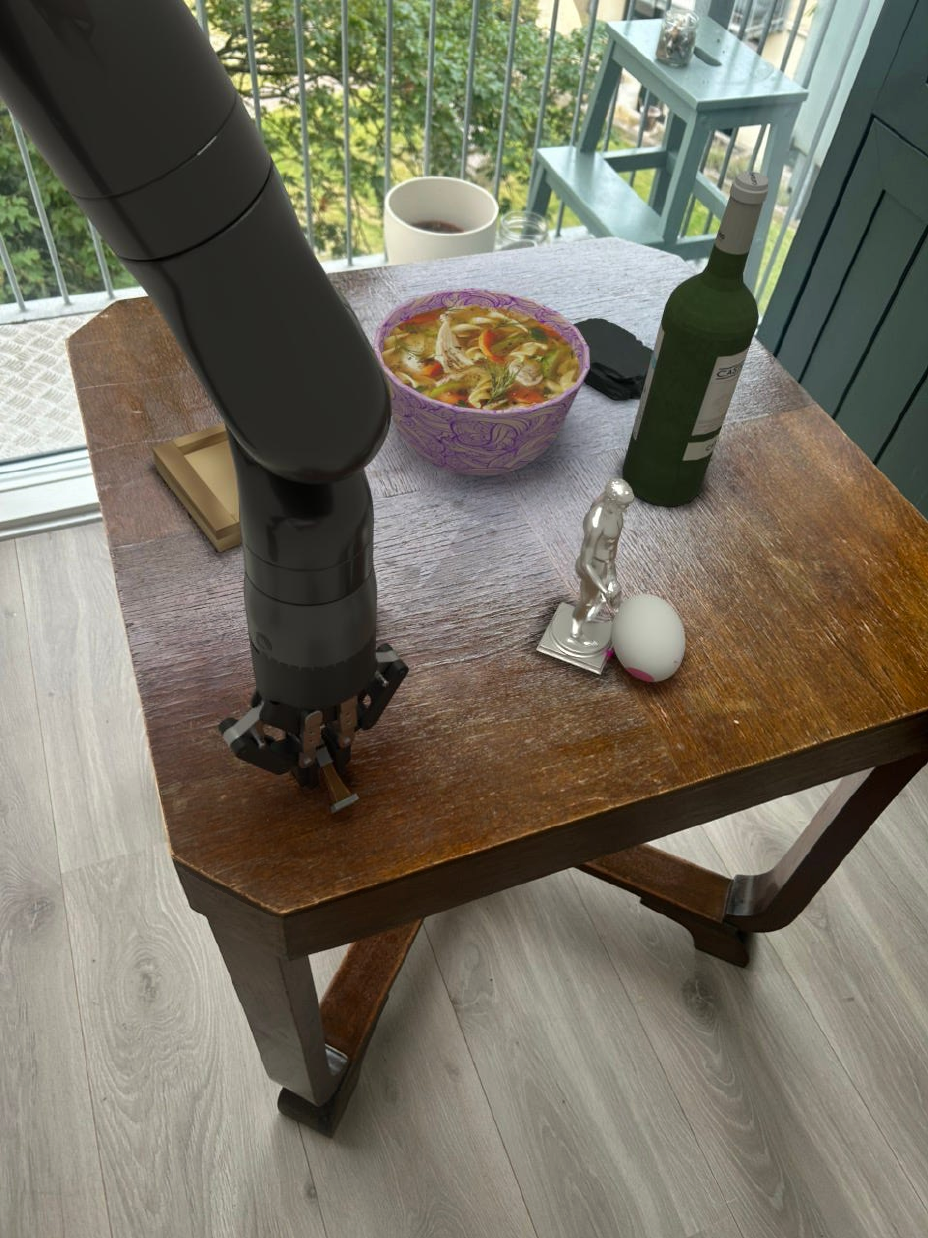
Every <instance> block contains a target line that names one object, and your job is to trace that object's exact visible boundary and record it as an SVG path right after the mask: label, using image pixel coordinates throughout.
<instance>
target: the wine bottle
mask: <svg viewBox="0 0 928 1238" xmlns="http://www.w3.org/2000/svg"><path fill="white" fill-rule="evenodd" d="M769 181H770V180H769V178H768V177H767V176H766V175H765V174H762V173H759V172H758V171H757V172H756V171H751V170H743V171H740V172H738V173H737V174H736V177H735V178H733V180H732V182H731V186H730V188H729V197H728V200H727V203H726V206H725V210H724V212H723V216H722V218H721V222H720V224H719V228H718V230H717V233H716V236H715V239H714V243H713V246H712V249H711V251H710V254H709V259H708V261H707V264H706V265H705V267H704V269H703V270H702V271H701V272H699V273H697V274H694V275H692V276H690V277H689V278H686V279H685V280H684V281H683V282H681V283H679V284H678V285H677V286H676V287H675V288H674V289H673V290H672V291H671V292H670V294H669V297H668V298H667V301H666V303H665V304H664V309H663V312H662V316H661V320H660V323H659V326H658V331H657V334H656V335H657V336H656V339H655V342H654V347H653V349H652V350H653V354H652V358H651V362H650V365H649V369H648V373H647V377H646V381H645V385H644V388H643V392H642V393H641V396H640V400H639V404H638V408H637V411H636V415H635V419H634V423H633V427H632V431H631V434H630V439H629V442H628V446H627V450H626V453H625V458H624V461H623V465H622V468H621V471H622V472H621V473H622V479H623V480H625V481H626V482H627V483H628V484H629V486H630V487H631V489H632V491H633V494H634V496H635V497H638V498H639V499H641V500H642V501H645V502H647V503H650V504H653V505H656V506H665V507H672V506H681V505H683V504H686V503H689V502H691V501H692V500H693V499H694V498H695V497H696V496H697V495H698V494H699V493H700V491H701V488H702V485H703V483H704V479H705V477H706V474H707V471H708V467H709V465H710V462H711V460H712V457H713V454H714V451H715V449H716V445H717V442H718V439H719V437H720V433H721V431H722V428H723V425H724V422H725V420H726V416H727V414H728V411H729V408H730V404H731V403H732V399H733V396H734V394H735V391H736V388H737V385H738V382H739V379H740V375H741V373H742V370H743V367H744V364H745V362H746V358H747V356H748V354H749V350H750V348H751V344H752V343H753V338H754V336H755V333H756V330H757V328H758V324H759V319H760V313H759V309H758V304H757V300H756V298H755V296H754V294H753V292H752V291H751V290H750V289H749V287H748V286H747V285H746V283H745V281H744V272H745V268H746V265H747V261H748V258H749V254H750V251H751V247H752V245H753V244H752V243H753V240H754V236H755V234H756V229H757V225H758V223H759V218H760V215H761V211H762V208H763V205H764V202H765V201H766V199H767V196H768V193H769V190H770V187H769Z"/></svg>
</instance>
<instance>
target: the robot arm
mask: <svg viewBox="0 0 928 1238" xmlns="http://www.w3.org/2000/svg"><path fill="white" fill-rule="evenodd" d="M0 99H1V101H2V102H3V104H4V105H5V107H6V108H7V109H8V111H9V112H10V114H11V115H12V116H13V118H14V119H15V120H16V122H17V123H18V125H19V126H20V128H21V129H22V131H23V132H24V133H25V135H26V136H27V137H28V139H29V141H31V143H32V144H33V146H34V148H36V150H37V151H38V153H39V154H40V155H41V157H42V158H43V159H44V161H45V162H46V164H47V165H48V166H49V168H50V170H51V171H52V172H53V173H54V174H55V176H56V177H57V179H58V180H59V182H60V183H61V184H62V185H63V188H65V190H66V191H67V192H68V194H69V195H70V196H71V198H72V199H73V201H74V202H75V204H76V205H77V206H78V207H79V209H80V210H81V211H82V213H83V214H84V215H85V217H86V218H87V219H88V221H89V222H90V223H91V225H92V226H93V227H94V229H95V230H96V231H97V233H98V234H99V236H100V237H101V238H102V240H103V241H104V242H105V244H106V245H107V247H108V248H109V249H110V250H111V251H112V253H113V254H114V255H115V256H116V258H117V259H118V261H119V262H120V263H121V264H122V265H123V267H124V268H125V270H126V271H128V273H129V274H130V276H132V277H133V278H134V280H135V281H136V282H137V283H138V284H139V286H140V287H141V288H142V289H143V290H144V292H145V293H146V295H147V296H148V297H149V299H150V300H151V302H152V303H153V305H154V306H155V308H156V309H157V310H158V313H159V314H160V315H161V317H162V318H163V320H164V322H165V323H166V326H167V327H168V329H169V330H170V332H171V334H172V336H173V338H174V340H175V341H176V343H177V345H178V347H179V349H180V351H181V353H182V354H183V356H184V358H185V359H186V361H187V363H188V364H189V366H190V368H191V369H192V372H193V373H194V375H195V376H196V378H197V379H198V381H199V383H200V385H201V386H202V388H203V390H204V391H205V393H206V395H207V396H208V399H209V400H210V402H211V403H212V405H213V406H214V408H215V410H216V412H217V413H218V415H219V417H220V418H221V419H222V422H223V423H224V424H225V429H226V433H227V438H228V442H229V446H230V451H231V455H232V459H233V463H234V467H235V472H236V479H237V488H238V499H239V524H240V532H241V540H242V544H241V546H242V548H241V549H242V554H243V555H242V556H243V565H244V567H243V568H244V573H243V588H242V589H243V590H242V591H243V602H244V609H245V616H246V624H247V625H246V626H247V632H248V640H249V647H250V655H251V665H252V671H253V676H254V680H255V688H254V691H253V693H252V695H251V697H250V706H251V709H250V710H249V711H248V712H247V713H245V714H244V715H243V716H242V717H241V718H240V719H237V718H235V717H227V718H225V719H223V720H222V721H221V722H220V723H218V727H217V731H218V732H219V733H220V735H221V736H222V738H223V740H224V741H225V743H226V744H227V746H228V747H229V749H230V750H231V752H232V753H233V755H234V756H235V757H236V759H238V760H241V761H243V762H246V763H247V764H250V765H252V766H254V767H257V768H259V769H262V770H264V771H267V772H268V773H271V774H273V775H276V776H284V775H285V774H287V773H288V772H289V773H290V775H291V777H292V778H293V779H294V780H295V783H297V785H298V787H300V788H301V789H304V788H307V789H308V791H309V792H313V791H315V790H316V789H318V788H320V787H321V785H320V784H321V783H320V781H321V780H320V769H319V762H318V760H317V758H316V747H317V746H319V745H320V739H321V740H323V741H324V744H323V746H324V747H327V751H328V753H329V756H330V758H331V759H332V761H333V762H332V765H333V767H334V769H335V771H336V773H337V774H338V776H339V777H341V776H343V775H344V774H347V773H346V772H347V771H346V770H347V768H346V766H348V765H349V764H350V762H351V760H352V744H353V742H354V741H355V738H356V737H355V734H356V733H357V732H358V731H360V730H362V731H364V732H368V731H370V730H371V729H373V728H374V727H375V726H376V724H377V722H378V721H379V720H380V718H381V716H382V715H383V713H385V710H386V709H387V707H388V705H389V704H390V702H391V700H392V699H393V697H395V694H396V692H397V691H398V689H399V688H400V686H401V685H402V683H403V681H404V679H406V676H407V675H408V674H409V671H410V667H409V666H408V665H407V664H406V663H405V661H404V660H403V659H402V658H401V657H400V655H398V653H397V652H396V651H395V649H394V648H393V647H392V646H391V645H390V643H388V642H384V643H381V644H380V645H379V646H377V624H378V623H377V622H378V619H377V618H378V617H377V616H378V612H377V611H378V581H377V576H376V575H377V574H376V571H375V564H374V563H375V561H374V550H375V549H374V547H375V546H374V545H375V543H374V541H375V511H374V500H373V494H372V489H371V485H370V482H369V480H368V478H367V474H366V471H365V468H366V467H368V465H370V463H371V462H372V461H373V460H374V459H375V458H376V456H377V455H378V453H380V451H381V449H382V447H384V444H385V442H386V439H387V437H388V434H389V431H390V427H391V423H392V419H393V418H392V396H391V390H390V385H389V382H388V379H387V376H386V374H385V371H384V369H383V367H382V365H381V363H380V361H379V359H378V357H377V355H376V354H375V352H374V349H373V345H372V344H371V342H370V339H368V336H367V334H366V332H365V330H364V329H363V327H362V325H361V323H360V320H359V319H358V317H357V315H356V313H355V310H354V309H353V308H352V306H351V304H350V302H349V301H348V299H347V298H346V297H345V295H344V294H343V293H342V292H341V290H340V289H338V288H337V287H336V286H335V284H334V283H333V282H332V281H331V279H330V277H329V276H328V274H327V272H326V271H325V269H324V268H323V266H322V264H321V262H320V261H319V259H318V258H317V256H316V254H315V252H314V251H313V249H312V247H311V244H310V243H309V241H308V239H307V237H306V235H305V233H304V231H303V228H302V226H301V224H300V220H299V218H298V215H297V213H296V210H295V207H294V205H293V203H292V200H291V198H290V197H291V196H290V195H289V193H288V191H287V188H286V185H285V183H284V180H283V178H282V175H281V173H280V172H279V170H278V167H277V165H276V162H275V160H274V159H273V157H272V155H271V153H270V152H269V148H268V147H267V145H266V143H265V141H264V139H263V138H262V136H261V134H260V132H259V130H258V128H257V126H256V124H255V123H254V120H253V118H252V117H251V115H250V113H249V111H248V109H247V107H246V106H245V105H246V104H244V102H243V100H242V98H241V96H240V94H239V92H238V90H237V88H236V86H235V85H234V83H233V81H232V79H231V77H230V75H229V74H228V72H227V70H226V68H225V66H224V64H223V63H222V61H221V59H220V58H219V56H218V54H217V52H216V50H215V48H214V47H213V46H212V44H211V42H210V41H209V38H208V37H207V35H206V33H205V32H204V30H203V28H202V27H201V26H200V24H199V22H198V20H197V19H196V17H195V16H194V14H193V12H192V11H191V9H190V8H189V6H188V4H187V3H186V1H185V0H0ZM367 696H368V697H369V699H370V703H369V704H368V706H367V705H366V704H365V702H364V701H365V699H366V697H367ZM265 725H267V726H269V727H272V728H275V729H277V730H281V732H282V733H281V734H282V738H281V739H279V740H276V739H275V737H273V736H272V735H270V734H267V733H265V731H264V726H265ZM322 726H324V727H322Z"/></svg>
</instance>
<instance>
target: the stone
mask: <svg viewBox="0 0 928 1238" xmlns="http://www.w3.org/2000/svg"><path fill="white" fill-rule="evenodd" d="M572 324H573V325H574V326H575V327H576V328H578V330H579V331H580V333H581V335H582V337H583V338H584V340H585V342H586V343H587V345H588V347H589V358H590V369H589V371H588V373H587V375H586V378H585V380H584V382H583V383H586V384H588V385H589V386H591V387H592V388H593V389H596V390H598V391H599V392H601V393H603V394H604V395H606V396H608V397H610V398H612V400H615V401H616V400H617V401H618V400H619V401H624V400H628V399H629V398H632V397H634V396H639V395H641V394H642V392H643V388H644V385H645V381H646V377H647V373H648V369H649V365H650V362H651V358H652V354H653V350H654V349H652V348H651V347H648V346H647V345H644V342H643V341H642V340H641V339H637V336H636V335H635V334H633V333H632V332H631V331H629V330H627V329H625V328H623V327H622V326H620V325H618V324H616V323H614V322H612V321H611V322H610V321H609V320H608V319H605V318H602V317H599V318H598V317H593V318H592V317H591V318H587V319H585V320H580V321H578V322H575V323H572Z"/></svg>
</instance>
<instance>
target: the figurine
mask: <svg viewBox="0 0 928 1238" xmlns="http://www.w3.org/2000/svg"><path fill="white" fill-rule="evenodd" d="M635 497H636V496H635V494H634V493H633V491H632V489H631V487H630V486H629V484H628V483H627V482H626V481H625V480H623V478H621V477H614V478H612V479H609V481H608V482H607V483H606V485H605V487H604V492H602V493H601V494H599V495H598V496H597V497H596V498H595V499H594V500H593V502H592V503H591V504H590V507H589V510H588V511H587V512H586V514H585V515H584V517H583V520H582V531H583V534H584V536H583V539H582V543H581V546H580V553H579V556H578V557H577V558H576V560H575V564H574V570H575V573H576V575H577V577H579V579H580V583H579V591H580V592H579V593H580V597H579V601H578V602H577V603H576V605H572V604H569V603H566V602H563V601H561V602H560V603H559V604H558V605H557V606H558V607H557V608H556V610H555V612H554V614H553V616H552V618H551V620H550V622H549V624H548V626H547V628H546V630H545V631H544V634H543V635H542V637H541V639H540V641H539V643H538V645H537V647H536V649H535V650H536V652H539V653H542V654H544V655H547V656H549V657H551V658H554V659H557V660H560V661H562V662H564V663H567V664H570V665H572V666H576V667H578V668H581V669H583V670H585V671H588V672H591V673H593V674H596V675H598V676H601V674H602V672H603V670H604V668H605V665H606V664H607V661H608V659H607V650H608V651H613V649H614V646H613V642H612V624H613V620H612V618H611V617H610V615H609V614H605V613H602V612H601V611H602V610H604V609H603V608H605V607H606V606H608V607H609V609H610V610H611V611H612V612H613V613H614V615H615V614H616V612H617V613H619V612H620V610H619V609H620V606H621V604H622V603H623V602H624V600H623V599H622V597H621V595H622V586H621V583H620V582H619V581H618V580H617V579H618V578H617V577H618V576H617V575H618V574H617V567H616V558H617V553H618V546H619V541H620V537H621V534H622V530H623V527H624V515H623V514H626V513H627V511H628V508H630V505H631V504H633V502H634V501H635ZM618 608H619V609H618ZM617 610H618V611H619V612H618V611H617ZM600 612H601V613H600Z"/></svg>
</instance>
